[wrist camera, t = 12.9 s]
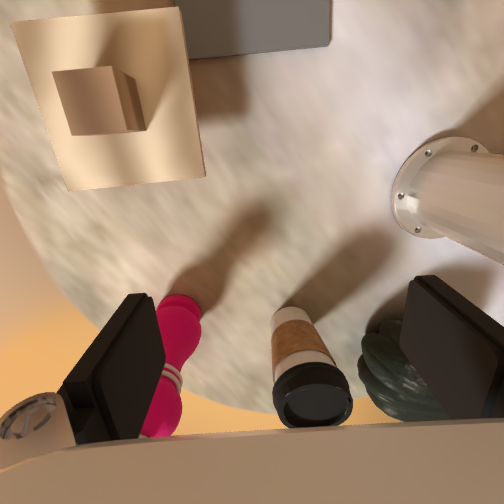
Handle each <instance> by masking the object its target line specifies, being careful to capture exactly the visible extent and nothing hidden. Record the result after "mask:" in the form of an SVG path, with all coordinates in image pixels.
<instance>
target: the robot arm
mask: <svg viewBox="0 0 504 504" xmlns="http://www.w3.org/2000/svg"><path fill="white" fill-rule="evenodd" d="M425 152H426V153H425ZM398 194H399V196H398ZM391 207H392V211H393V215H394V217H395V219H396V220H397V222H398V223H399V225H400V226H401V227H402V228H403V229H405V230H406V231H408V232H409V233H411V234H413V235H415V236H418V237H421V238H428V239H435V238H442V237H447V238H449V239H451V240H453V241H456V242H458V243H460V244H462V245H464V246H466V247H468V248H470V249H472V250H474V251H476V252H478V253H480V254H482V255H484V256H486V257H488V258H490V259H492V260H494V261H496V262H499V263H501V264H503V265H504V154H491V153H489V151H488V150H487V149H486V148H485V147H484V146H483V145H482V144H481V143H479V142H478V141H476V140H474V139H471V138H466V137H444V138H441V139H437V140H434V141H432V142H430V143H428V144H426V145H424V146H423V147H421V148H420V149H419V150H417V151H416V152H415V153H414V154H413V155H412V156H411V157H410V158H409V159H408V160H407V161H406V162H405V163H404V165H403V166H402V168H401V169H400V171H399V173H398V175H397V177H396V179H395V182H394V185H393V188H392V194H391ZM399 342H400V347H401V350H402V351H403V353H404V354H405V355H406V357H407V358H408V360H409V361H410V362H411V364H412V365H413V367H414V368H415V370H416V371H417V372H418V374H419V375H420V377H421V378H422V379H423V381H424V382H425V384H426V385H427V386H428V388H429V389H430V391H431V392H432V393H433V395H434V396H435V398H436V399H437V400H438V402H439V403H440V405H441V406H442V407H443V409H444V410H445V412H446V413H447V414H448V416H449V417H450V419H451V420H439V421H419V422H399V423H381V424H362V425H343V426H325V427H308V428H290V429H274V430H257V431H241V432H224V433H208V434H192V435H176V436H163V437H151V438H139V435H140V432H141V430H142V427H143V424H144V421H145V419H146V416H147V413H148V410H149V407H150V405H151V402H152V399H153V396H154V394H155V391H156V388H157V385H158V382H159V380H160V377H161V374H162V371H163V368H164V366H165V361H166V355H165V350H164V346H163V341H162V337H161V333H160V328H159V324H158V320H157V315H156V311H155V307H154V302H153V299H152V297H148V296H147V294H146V293H136V294H128V295H127V297H126V298H125V299H124V301H123V302H122V303H121V305H120V306H119V307H118V309H117V310H116V311H115V313H114V314H113V315H112V317H111V318H110V320H109V321H108V322H107V324H106V325H105V326H104V328H103V329H102V330H101V332H100V333H99V334H98V336H97V337H96V338H95V340H94V341H93V343H92V344H91V345H90V346H89V348H88V349H87V350H86V352H85V353H84V354H83V356H82V357H81V358H80V360H79V361H78V362H77V364H76V365H75V367H74V368H73V370H72V371H71V372H70V373H69V375H68V376H67V378H66V379H65V380H64V381H63V385H62V386H61V387H60V389H59V390H58V391H57V393H54V392H45V393H41V394H36V395H34V396H32V397H29V398H27V399H25V400H23V401H22V402H20V403H18V404H16V405H15V406H13V407H12V408H11V409H10V410H8V411H7V412H6V413H5V414H4V415H3V416H2V417H1V418H0V504H504V327H503V326H502V325H500V324H499V323H498V322H496V321H495V320H494V319H492V318H491V317H490V316H488V315H487V314H486V313H484V312H483V311H482V310H480V309H479V308H478V307H477V306H475V305H474V304H473V303H471V302H470V301H469V300H467V299H466V298H465V297H463V296H462V295H461V294H459V293H458V292H457V291H455V290H454V289H453V288H451V287H450V286H449V285H447V284H446V283H445V282H443V281H442V280H441V279H439V278H438V277H437V276H435V275H425V276H416V277H415V278H414V280H412V281H410V283H409V287H408V293H407V299H406V305H405V311H404V317H403V323H402V328H401V334H400V341H399Z"/></svg>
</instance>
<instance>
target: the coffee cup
mask: <svg viewBox="0 0 504 504" xmlns="http://www.w3.org/2000/svg"><path fill="white" fill-rule="evenodd" d="M270 326H271V345H272V369H273V382H274V387H273V392H272V395H273V403H274V406H275V409H276V410H277V413H278V416H279V418H280V420H281V421H282V423H283V424H284V425H285V426H287V427H288V428H308V427H325V426H338V425H340V424H341V423H343V422H344V421H345V420H347V419H348V417H349V416H350V415H351V412H352V408H353V399H352V397H351V394H350V391H349V385H348V382H347V380H346V378H345V376H344V374H343V373H342V372H341V371H340V370H339V369H338V368H337V366H336V363H335V361H334V360H333V358H332V356H331V354H330V353H329V351H328V349H327V348H326V346H325V344H324V342H323V341H322V339H321V337H320V336H319V334H318V332H317V331H316V329H315V327H314V326H313V324H312V322H311V320H310V318H309V317H308V315H307V313H306V312H305V311H304V310H302V309H301V308H298V307H291V306H290V307H285V308H282V309H280V310H278V311H277V312H276V313H275V314H274V315H273V317H272V319H271V324H270Z"/></svg>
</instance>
